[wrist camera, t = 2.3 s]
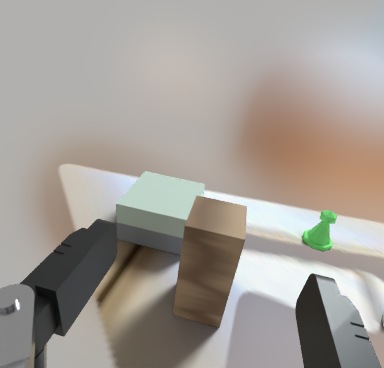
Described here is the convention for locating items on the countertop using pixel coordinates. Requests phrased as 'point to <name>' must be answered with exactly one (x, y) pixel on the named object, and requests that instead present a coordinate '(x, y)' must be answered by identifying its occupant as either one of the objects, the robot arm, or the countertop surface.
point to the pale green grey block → (156, 211)
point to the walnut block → (209, 259)
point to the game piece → (320, 232)
